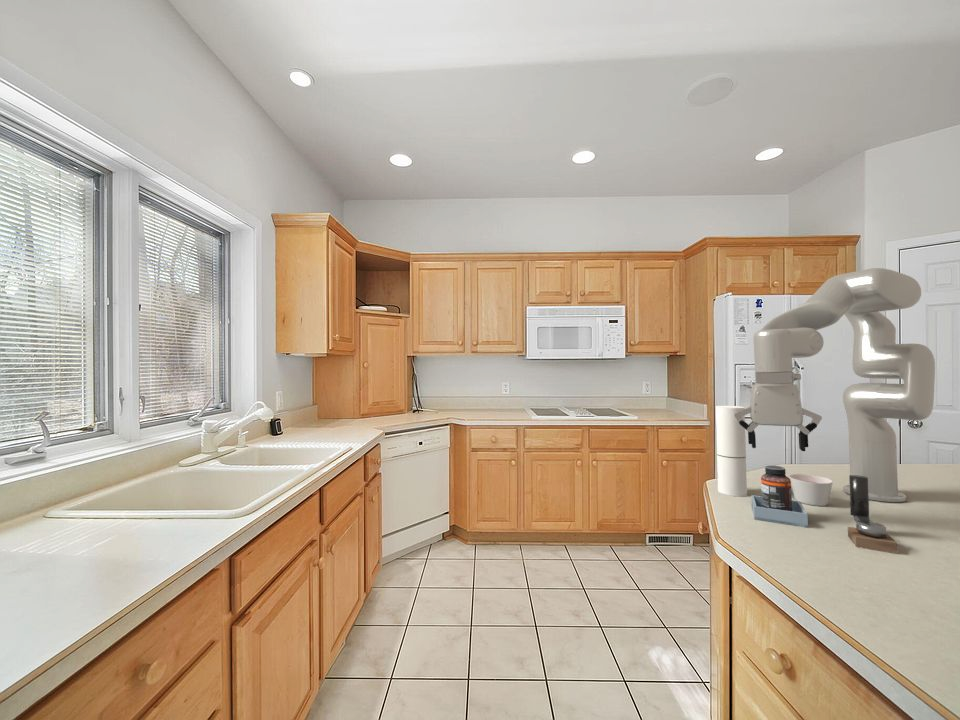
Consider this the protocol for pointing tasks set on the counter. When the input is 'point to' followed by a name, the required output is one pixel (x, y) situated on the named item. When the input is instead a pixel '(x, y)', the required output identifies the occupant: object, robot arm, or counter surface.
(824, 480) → the white bowl
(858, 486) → the crank
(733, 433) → the cylindrical container
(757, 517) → the tray
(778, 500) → the supplement bottle
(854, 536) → the crank base
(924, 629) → the counter surface
